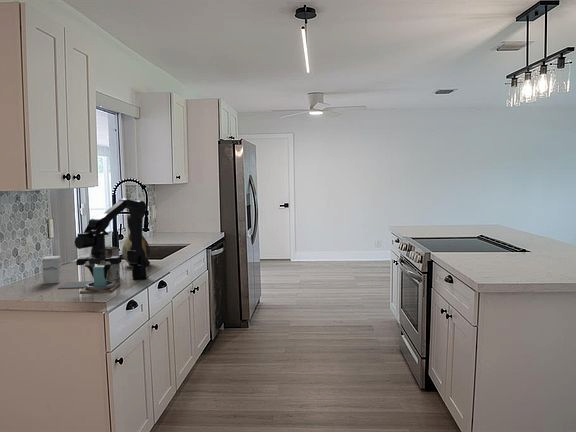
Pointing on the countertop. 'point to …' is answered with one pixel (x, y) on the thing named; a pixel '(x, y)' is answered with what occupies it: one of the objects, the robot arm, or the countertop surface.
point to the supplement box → (51, 269)
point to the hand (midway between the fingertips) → (100, 279)
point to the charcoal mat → (74, 285)
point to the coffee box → (115, 268)
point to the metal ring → (91, 286)
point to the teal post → (99, 276)
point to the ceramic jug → (128, 243)
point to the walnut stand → (99, 290)
